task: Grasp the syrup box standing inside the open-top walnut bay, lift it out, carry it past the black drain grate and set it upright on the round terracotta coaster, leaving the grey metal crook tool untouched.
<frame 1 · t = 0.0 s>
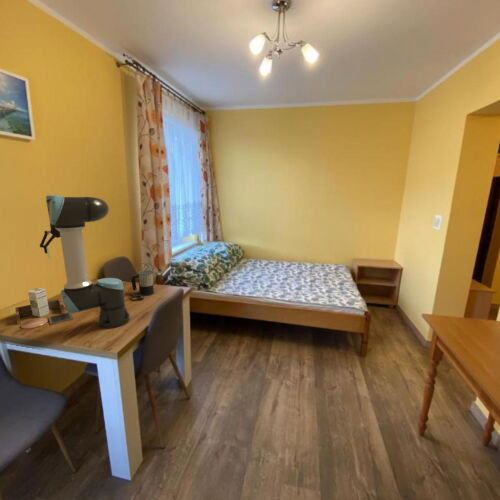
hand: (62, 256, 166), 28 cm above the table, fingers open, 13 cm apart
drain grate: (60, 318, 147), on the table
terracotta coaster: (34, 323, 141), on the table
walnut bay: (41, 314, 152), on the table
milk frother: (143, 295, 180), on the table
syrup box: (41, 314, 152), on the table
crook tool: (79, 299, 173), on the table
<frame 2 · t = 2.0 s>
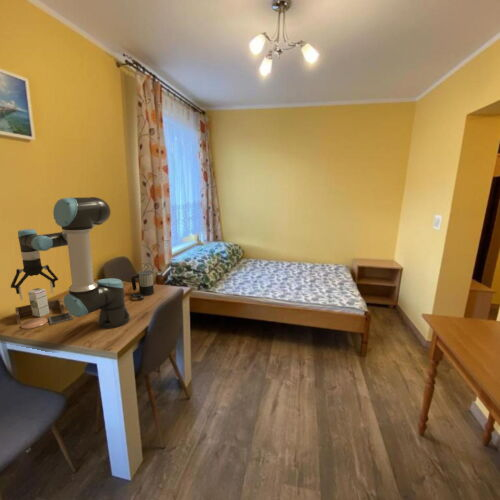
hand: (37, 296, 150), 11 cm above the table, fingers open, 13 cm apart
nothing on the table moved.
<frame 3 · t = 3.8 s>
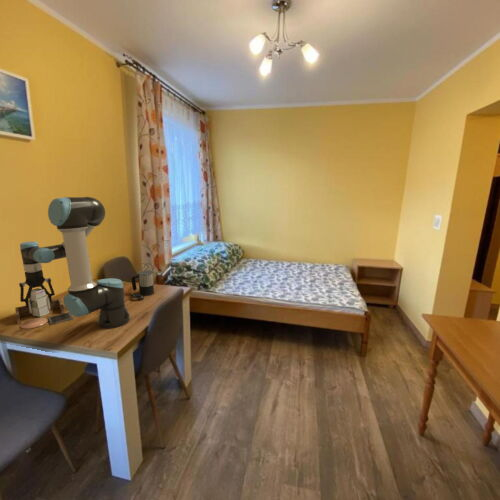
hand: (40, 310, 151), 3 cm above the table, fingers closed on syrup box, 7 cm apart
syrup box: (41, 314, 152), on the table, touching gripper
everything else where it was.
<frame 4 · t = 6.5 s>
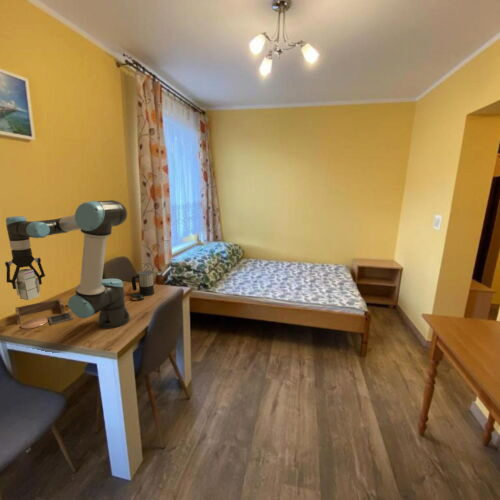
hand: (29, 292, 138), 17 cm above the table, fingers closed on syrup box, 7 cm apart
syrup box: (29, 297, 138), point 14 cm above the table, touching gripper
everything else where it was.
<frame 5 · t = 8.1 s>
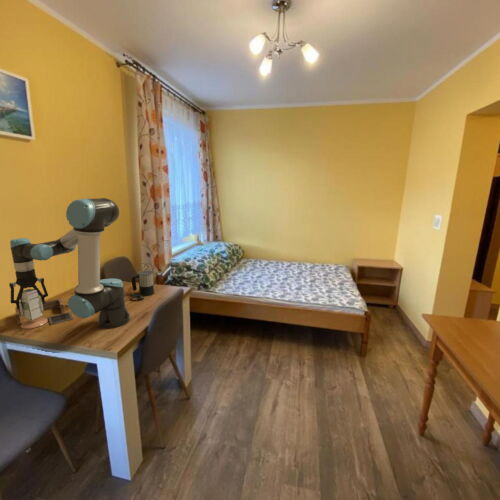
hand: (32, 312, 140), 6 cm above the table, fingers closed on syrup box, 7 cm apart
syrup box: (33, 317, 141), point 3 cm above the table, touching gripper
everything else where it was.
when the fingers open (4 cm above the table, at t = 9.4 s): syrup box moves 1 cm, resting on terracotta coaster.
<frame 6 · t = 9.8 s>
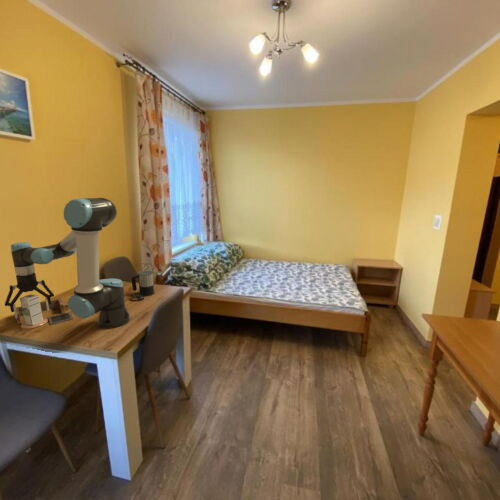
hand: (32, 313, 140), 6 cm above the table, fingers open, 12 cm apart
syrup box: (34, 323, 141), resting on terracotta coaster
everything else where it was.
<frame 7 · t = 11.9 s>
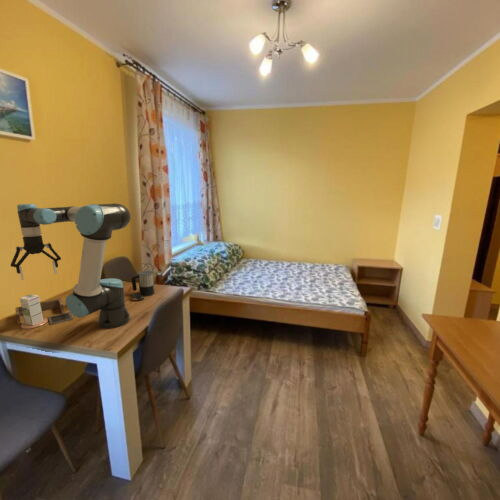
hand: (39, 276, 140), 24 cm above the table, fingers open, 13 cm apart
nothing on the table moved.
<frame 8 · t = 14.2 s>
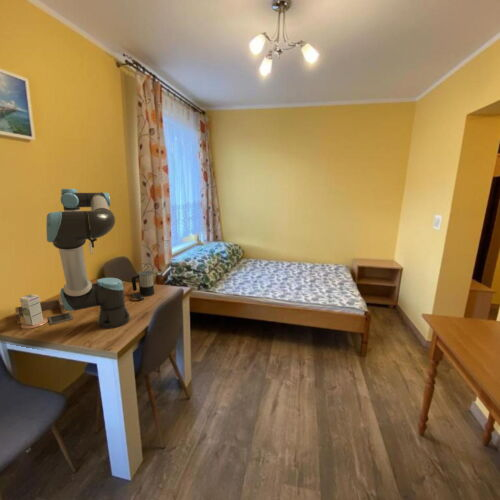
hand: (78, 255, 154), 32 cm above the table, fingers open, 13 cm apart
at the end: syrup box 0.1 cm from the terracotta coaster (horizontally); syrup box tilted 0°; syrup box resting on terracotta coaster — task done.
